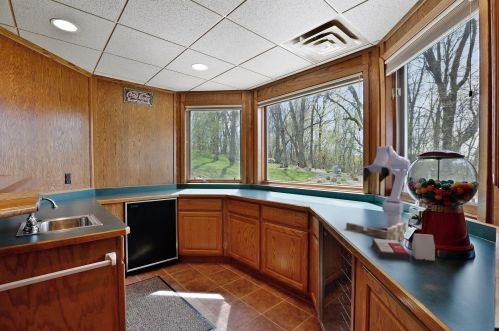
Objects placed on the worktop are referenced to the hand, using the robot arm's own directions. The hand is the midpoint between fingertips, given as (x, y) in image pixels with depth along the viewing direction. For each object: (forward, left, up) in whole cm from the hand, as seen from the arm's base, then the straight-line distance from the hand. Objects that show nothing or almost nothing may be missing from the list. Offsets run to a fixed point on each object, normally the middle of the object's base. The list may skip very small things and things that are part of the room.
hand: (372, 180), depth 120 cm
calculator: (+12, +13, -31) cm, 36 cm away
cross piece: (-7, +9, -31) cm, 33 cm away
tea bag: (+7, +24, -31) cm, 40 cm away
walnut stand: (-7, -7, -31) cm, 32 cm away
